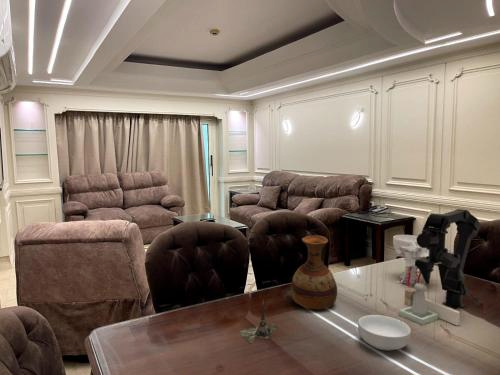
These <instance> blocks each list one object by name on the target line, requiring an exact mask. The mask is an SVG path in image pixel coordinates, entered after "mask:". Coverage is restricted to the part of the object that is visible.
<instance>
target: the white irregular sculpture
mask: <svg viewBox="0 0 500 375" xmlns="http://www.w3.org/2000/svg"><path fill="white" fill-rule="evenodd" d="M417 237H418V235H411V234H396V235H394V236H393V239H392V243H393V248H394V250H395V252H396V253H397V255H398V257H400V258H402V259H403V258H404V259H403V261H404V262H405V267H404V268H405V269H404V271H402V274H401V275H400V280H397V282H396V283H397V284H405V286H408V287H410V285H415V283H420V279H421V276H422V274H421V272H420V270H419V268H417V267H416V266H415V261H416V260H417V259H426V256H429V249H427V248H422V247H420V246H419V245H418V244H417V240H416V239H417ZM426 260H429V259H426Z"/></svg>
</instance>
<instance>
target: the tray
mask: <svg viewBox="0 0 500 375" xmlns="http://www.w3.org/2000/svg"><path fill="white" fill-rule="evenodd" d="M411 307H412V306H410V307H409V306H407V307H405V308H402V309H399V310H398V317H402V318H404V319H406V320H409V321H412V322H413V323H416V324H418V325H421V326H424V325H428V324H430V323H433V322H436V321H438V320H439V318H438V314H437V313H434V312H431V311H429V310H427V313H426V315H425V317H423V318H421V317H418V316H416V315H413V313H412V311H411Z"/></svg>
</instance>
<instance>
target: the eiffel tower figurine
mask: <svg viewBox="0 0 500 375" xmlns="http://www.w3.org/2000/svg"><path fill="white" fill-rule="evenodd" d="M261 307H262V309H261V317H260V322H259V325H258V326H253V327H250V328H247V329H246V328H245V329H242V330H240V331H239V332H238V333H239V335H241V336H242V337H243V338H244V339H245V340H246V341H247V342H248V343H249V344H252V343H253V344H254V343H255V338H260V339H270V338H272V333H273V331H274V330H276V329H277V328H278V327H277V325H275V324H274V323H269V324H267V321H266V318H265V316H266V315H265V301H264V298H263V300H262V306H261Z"/></svg>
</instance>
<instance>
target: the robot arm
mask: <svg viewBox="0 0 500 375" xmlns="http://www.w3.org/2000/svg"><path fill="white" fill-rule="evenodd" d="M451 224H455V226H456V232H457V234H458V238H457V242H456V245H455V250H454V251H453V252H454V253H453V254H452V253H451V254H450V253H449V250H448V248H447V247H446V235H447V234H449V232H448V230H447V229H449V228H451ZM480 229H481V222H480V221H479V219H478V218H477V217H475V215H473V214H471V212H470V210H468V209H460V208H457V209H455V210H451V211H449V212H448V211H447V212H445V213H430V214H429V216H428V217H427V218H426V221H425V223H424V225H423V227H422V230H421V233H419V234H418V235H417V236H418V237H417V239H416V240H417V244H418V245H419V246H420V247H422V248H427V249H429V256H426V259H425V258H423V259H417V260H416V261H415V266H416V267H417V268H419V269H418V271H419V270H420V272H421V276H422V278H423V280H424V282H425V285H429V284H430V281H431V275H432V272H433V271H434V270H435V269H434V267H435V265H437V266H438V267H437V268H438V272H439V273H438V274H439V279H440V285H441V290H443V291H446V292H445V301H444V302H442V304H441V305H443V306H446V307H448V308H451V309H454V310H457V309H461V308H465V307H466V305H465V304H463V302H462V300H463V296H467V294H468V290H469V289H468V287H467V285H466V283H465V280H466V277H465V275H464V267H465V263H466V259H467V256H468V252H469V249H470V246H471V242H472V240H473V239H475V237H476V236H477V235H478V234H479V231H480ZM428 259H429V260H428Z"/></svg>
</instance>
